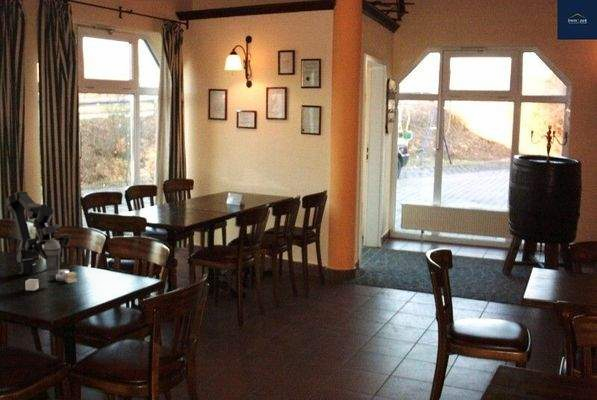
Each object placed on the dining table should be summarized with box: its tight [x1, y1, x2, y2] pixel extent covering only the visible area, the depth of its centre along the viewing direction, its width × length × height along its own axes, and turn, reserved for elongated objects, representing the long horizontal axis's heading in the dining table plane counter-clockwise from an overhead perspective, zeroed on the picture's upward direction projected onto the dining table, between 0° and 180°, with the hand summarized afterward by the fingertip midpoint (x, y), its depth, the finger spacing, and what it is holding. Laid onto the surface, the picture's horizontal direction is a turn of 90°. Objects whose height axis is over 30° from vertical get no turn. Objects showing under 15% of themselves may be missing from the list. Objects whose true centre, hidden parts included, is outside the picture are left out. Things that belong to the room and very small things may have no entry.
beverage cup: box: [42, 233, 61, 276], centre depth 285 cm, size 7×7×20 cm
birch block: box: [64, 271, 78, 284], centre depth 296 cm, size 4×4×4 cm
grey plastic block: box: [24, 278, 40, 291], centre depth 283 cm, size 4×4×4 cm
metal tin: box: [55, 268, 70, 282], centre depth 299 cm, size 6×6×4 cm
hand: (53, 257), depth 285 cm, fingers closed on beverage cup, 7 cm apart
